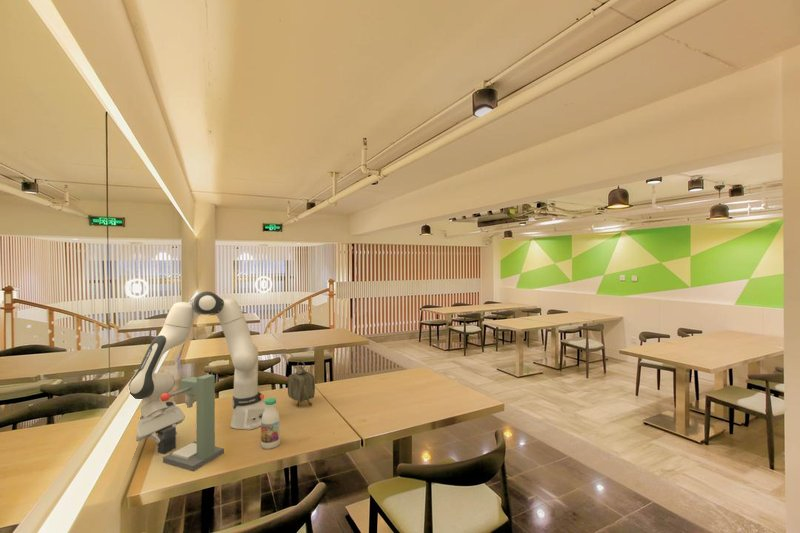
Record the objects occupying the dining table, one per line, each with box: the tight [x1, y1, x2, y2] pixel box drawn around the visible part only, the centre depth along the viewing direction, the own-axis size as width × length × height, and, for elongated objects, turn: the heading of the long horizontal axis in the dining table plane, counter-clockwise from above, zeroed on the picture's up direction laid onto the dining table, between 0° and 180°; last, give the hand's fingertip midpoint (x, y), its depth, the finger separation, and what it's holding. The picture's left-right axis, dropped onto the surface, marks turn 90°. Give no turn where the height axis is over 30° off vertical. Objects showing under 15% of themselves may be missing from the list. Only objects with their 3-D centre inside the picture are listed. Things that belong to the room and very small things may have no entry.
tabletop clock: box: [287, 360, 316, 407], centre depth 197 cm, size 14×9×25 cm, turn 49°
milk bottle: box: [260, 397, 281, 450], centre depth 152 cm, size 8×8×20 cm
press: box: [160, 374, 225, 472], centre depth 139 cm, size 17×22×34 cm
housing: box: [157, 426, 177, 455], centre depth 148 cm, size 5×4×9 cm
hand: (167, 438), depth 148 cm, fingers closed on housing, 5 cm apart
